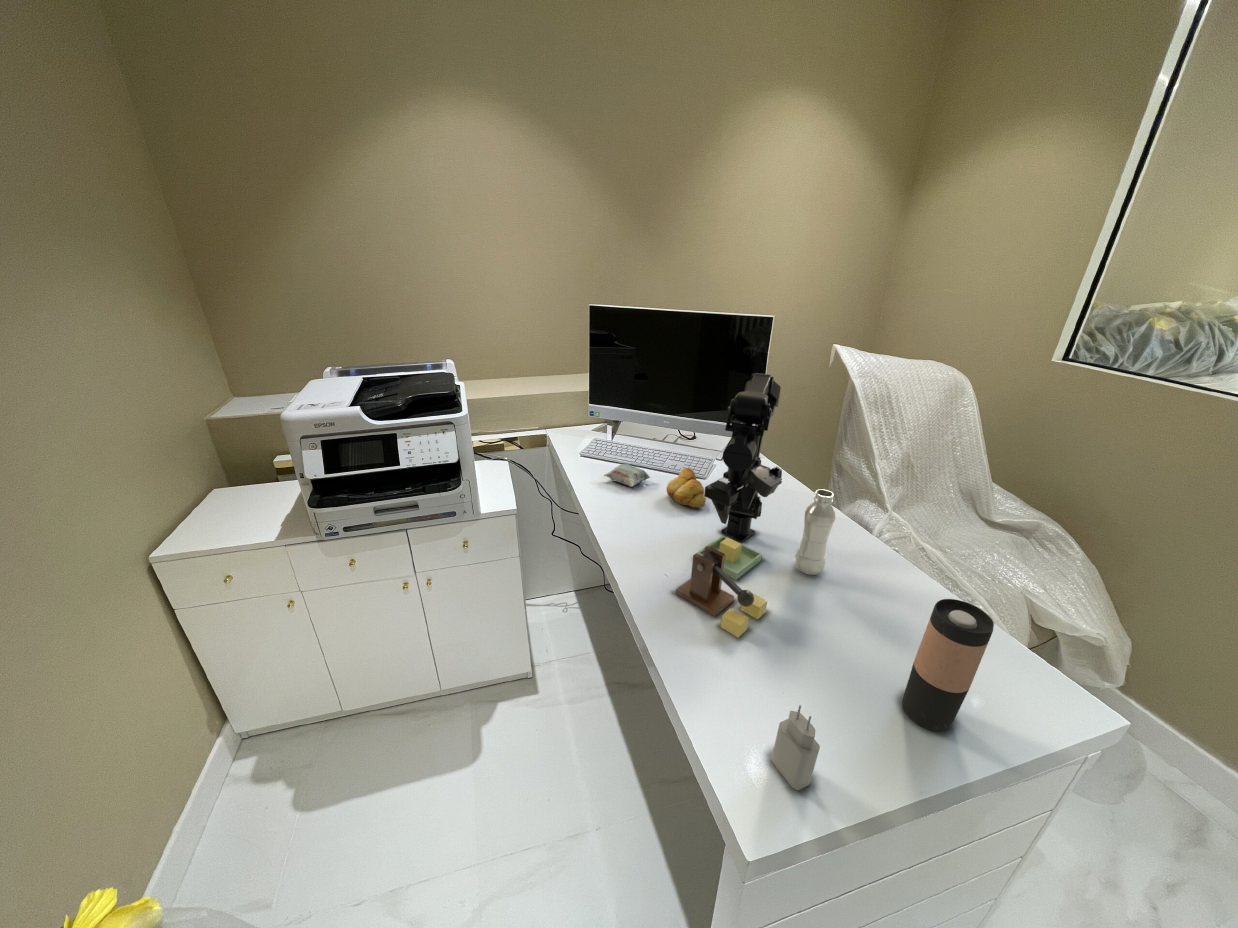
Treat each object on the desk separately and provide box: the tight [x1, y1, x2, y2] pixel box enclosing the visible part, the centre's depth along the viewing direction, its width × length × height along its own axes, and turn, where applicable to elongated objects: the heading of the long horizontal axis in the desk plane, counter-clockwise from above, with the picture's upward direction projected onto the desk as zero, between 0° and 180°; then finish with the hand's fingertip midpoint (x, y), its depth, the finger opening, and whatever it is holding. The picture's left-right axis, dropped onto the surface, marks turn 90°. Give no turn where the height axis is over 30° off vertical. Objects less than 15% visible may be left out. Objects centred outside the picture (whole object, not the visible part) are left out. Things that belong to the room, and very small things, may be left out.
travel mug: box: [901, 598, 995, 732], centre depth 77 cm, size 8×8×20 cm
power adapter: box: [770, 704, 821, 791], centre depth 69 cm, size 3×5×12 cm, turn 25°
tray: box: [696, 535, 763, 581], centre depth 119 cm, size 11×11×2 cm
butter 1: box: [720, 607, 749, 638], centre depth 97 cm, size 3×4×3 cm
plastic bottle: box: [794, 488, 836, 576], centre depth 112 cm, size 6×7×20 cm
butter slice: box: [719, 537, 743, 563], centre depth 118 cm, size 3×4×4 cm
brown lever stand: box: [675, 545, 735, 617], centre depth 104 cm, size 10×7×11 cm
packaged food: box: [603, 463, 651, 487], centre depth 154 cm, size 9×12×5 cm
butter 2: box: [740, 592, 768, 620], centre depth 102 cm, size 3×4×3 cm
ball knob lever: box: [703, 552, 754, 607], centre depth 100 cm, size 13×3×3 cm, turn 46°
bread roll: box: [666, 467, 707, 508], centre depth 144 cm, size 13×10×8 cm
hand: (734, 515), depth 114 cm, fingers open, 9 cm apart
